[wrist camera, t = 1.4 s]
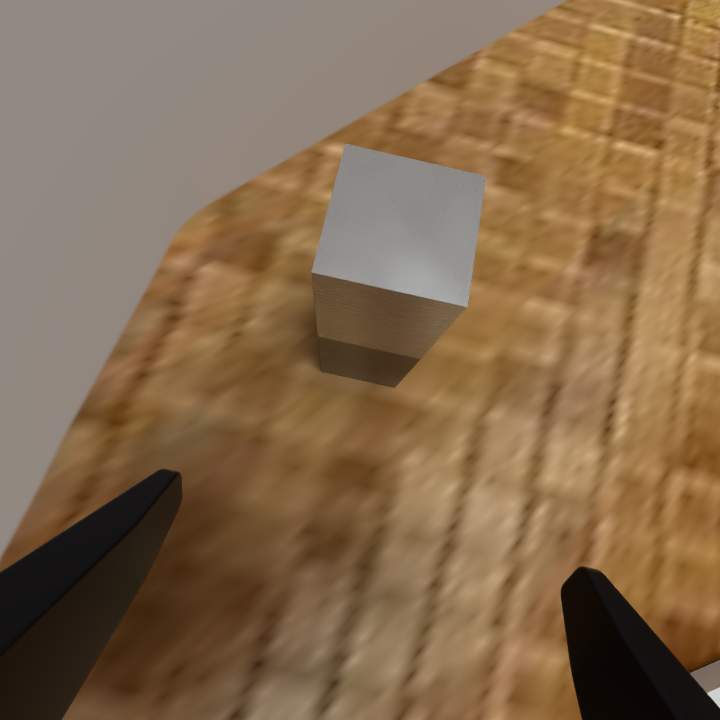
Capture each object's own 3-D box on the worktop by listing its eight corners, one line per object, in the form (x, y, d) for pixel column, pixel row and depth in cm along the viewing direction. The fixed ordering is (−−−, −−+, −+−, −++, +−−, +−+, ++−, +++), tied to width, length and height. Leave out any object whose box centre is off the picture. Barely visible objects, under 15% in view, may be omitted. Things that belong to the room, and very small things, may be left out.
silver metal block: (394, 387, 24) (467, 307, 11) (321, 371, 24) (311, 272, 11) (407, 318, 25) (486, 176, 12) (337, 303, 25) (345, 143, 12)
